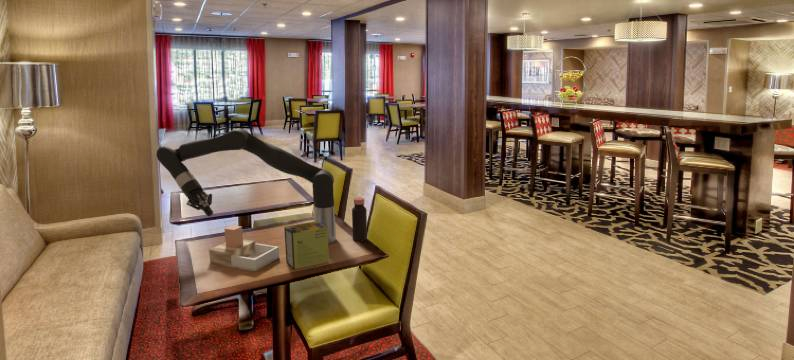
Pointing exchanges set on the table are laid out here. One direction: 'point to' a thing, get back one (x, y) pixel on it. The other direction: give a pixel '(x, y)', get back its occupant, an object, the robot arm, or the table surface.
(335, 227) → the robot arm
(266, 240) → the table surface
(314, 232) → the protein box
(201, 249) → the table surface
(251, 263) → the white inner box tray
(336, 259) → the table surface
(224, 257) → the beige box sleeve
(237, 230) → the block
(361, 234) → the bottle
